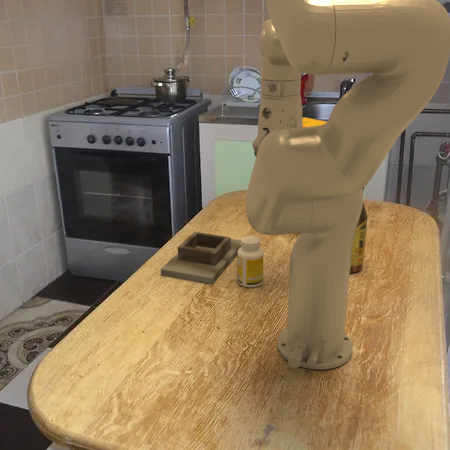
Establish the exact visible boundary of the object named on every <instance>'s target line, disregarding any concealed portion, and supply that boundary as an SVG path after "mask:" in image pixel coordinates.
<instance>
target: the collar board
mask: <svg viewBox="0 0 450 450" xmlns="http://www.w3.org/2000/svg"><path fill="white" fill-rule="evenodd" d="M239 248H241V239H235V238H231V237H230V236H223V235H218V234H211V233H203V232H199V231H194V232H193V233H191V234H190V236H188V237H187V238H186V239H185V240H184V241H182V242H181V244H179V245H178V246H177V253H176V254H175V255H173V257H171V259H169V260H168V262H166V263H165V264H164V265H163V266H162V267H161V268H160V276H164V277H168V278H169V277H170V278H174V279H180V280H184V281H191V282H197V283H202V284H206V285H213V284H214V283H215V282H216V281H217V280H218V279H219V277H220V276H222V274H223V273H224V271H226V269H227V268H228V267H229V266H230V265H231V263H233V261H234V260H235V258H237V252H238V250H239Z"/></svg>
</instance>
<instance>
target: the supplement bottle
mask: <svg viewBox="0 0 450 450" xmlns="http://www.w3.org/2000/svg"><path fill="white" fill-rule="evenodd" d="M240 240H241V248H239V250H238V252H237V256H236V258H237V259H236V260H237V264H236V267H237V268H236V269H237V275H236V276H237V278H236V280H237V283H238V284H239V285H240V286H242V287H245V288H256V287H259V286H261V285H262V283H264V250H263V249H262V247H261V238H260V237H258V236H256V235H246V236H243V237H241V239H240Z"/></svg>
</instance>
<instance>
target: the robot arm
mask: <svg viewBox="0 0 450 450" xmlns="http://www.w3.org/2000/svg"><path fill="white" fill-rule="evenodd" d="M265 4H266V10H267V12H268V16H269V18H268V19H266V20H265V21H263V23H262V25H261V31H260V32H261V33H260V36H259V37H260V39H259V48H260V104H259V110H258V112H259V113H258V122H257V136H256V138H255V139H254V140H253V142H252V149H253V151H254V157H255V159H254V164H253V168H252V172H251V176H250V179H249V182H248V187H247V191H246V197H245V213H246V218H247V221H248V222H249V224H250V227H251V228H252V229H253V230H254V231H255V232H257V233H258V234H261V235H265V236H278V235H279V236H280V235H295V234H299V236H298V237H297V238H296V240H295V242H294V244H293V246H292V250H291V252H290V258H289V278H288V302H287V303H288V304H287V305H288V306H287V326H286V327H285V328H284V329H283V330H282V331H281V332H280V333H279V334H278V336H277V337H278V338H277V348H278V352H279V353H280V354H281V356H282V357H283V358H284V359H286V360H287V364H288V366H289V367H290V368H292V369H298V368H299V367H302V368H304V369H309V370H331V369H334V368H338V367H340V366H342V365H344V364H345V363H346V362H348V361H349V360H350V358H351V357H352V355H353V349H354V348H353V347H354V346H353V341H352V339H351V338H350V336H349V335H348V334H347V333H346V332H345V331H346V321H347V320H346V318H347V306H348V295H349V294H348V293H349V283H350V266H351V256H352V247H353V241H354V236H355V231H356V228H357V224H358V221H359V218H360V214H361V210H362V206H363V203H364V193H363V188H364V187H367V186H368V184H369V182H371V180H372V179H373V178H374V176H375V174H376V173H377V171H378V170H379V168H380V167H381V165H382V163H383V162H384V160H385V159H386V157H387V155H389V153H390V151H391V150H392V148H393V146H394V145H395V143H396V141H397V140H398V139H399V137H400V136H401V134H402V133H403V132H404V131H405V130H406V129H407V128H408V127H409V125H410V124H412V122H413V121H414V120H415V119H416V118H417V117H418V116H419V115H420V114H421V113H422V112H423V110H424V109H425V108H426V106H427V105H428V104H429V102H430V101H431V100H432V98H434V97H433V96H434V95H435V93H436V92H437V91H438V88H439V87H440V84H441V83H442V80H443V78H444V77H445V73H446V71H447V66H448V65H449V64H448V63H449V60H450V14H449V13H448V11H447V9H446V8H445V6H444V5H443V4H442V3H441V2H439V1H438V0H265ZM302 74H305V75H312V76H313V75H314V76H315V75H316V76H322V75H323V76H325V75H349V74H350V75H351V74H352V75H353V74H355V75H356V74H357V75H358V74H359V75H360V74H370V75H368V76H367V77H365V78H364V79H362V80H361V81H359V82H358V83H356V84H355V85H354V86H353V87H351V88H350V89H349V90H348V91H346V93H345V94H343V95H342V96H341V98H339V100H338V101H337V102H336V104H335V105H334V106H333V107H332V111H331V112H330V116H329V118H328V120H327V121H326V122H327V123H326V124H324V125H320V126H314V127H303V121H302V118H303V103H302V96H301V87H302V86H301V83H302ZM364 189H365V188H364ZM300 233H301V234H300Z"/></svg>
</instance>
